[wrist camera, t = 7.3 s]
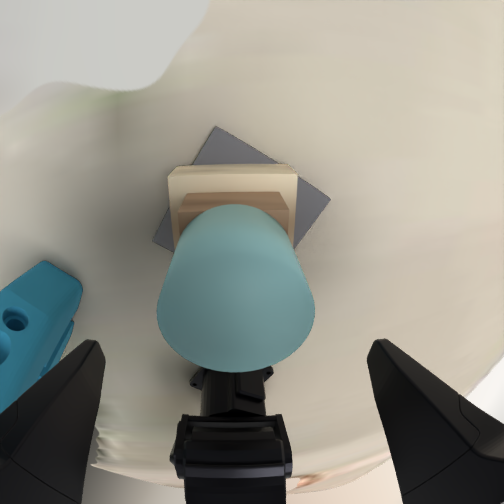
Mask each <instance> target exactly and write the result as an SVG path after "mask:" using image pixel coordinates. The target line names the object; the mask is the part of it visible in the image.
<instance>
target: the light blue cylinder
mask: <svg viewBox="0 0 504 504" xmlns="http://www.w3.org/2000/svg"><path fill="white" fill-rule="evenodd" d="M314 317H315V306H314V300H313V297H312V294H311V291H310V288H309V286H308V283H307V281H306V278H305V276H304V274H303V271H302V269H301V266H300V264H299V261H298V259H297V256H296V254H295V252H294V249H293V247H292V244H291V242H290V240H289V237H288V235H287V233H286V231H285V230H284V228H283V227H282V226H281V224H280V223H279V222H278V221H277V220H276V219H274V218H273V217H272V216H271V215H269V214H268V213H266V212H264V211H262V210H260V209H258V208H255V207H251V206H248V205H241V204H228V205H221V206H217V207H214V208H211V209H209V210H206V211H205V212H203V213H201V214H199V215H198V216H197V217H195V218H194V219H193V220H192V221H191V222H190V223H189V224H188V225H187V226H186V228H185V229H184V230H183V232H182V234H181V236H180V238H179V241H178V244H177V247H176V249H175V252H174V255H173V258H172V261H171V264H170V266H169V269H168V272H167V275H166V278H165V281H164V284H163V287H162V290H161V293H160V296H159V300H158V304H157V320H158V325H159V328H160V330H161V333H162V335H163V336H164V338H165V340H166V341H167V342H168V344H169V345H170V346H171V347H172V348H173V349H174V350H175V351H176V352H177V353H178V354H180V355H181V356H182V357H184V358H185V359H187V360H188V361H190V362H192V363H194V364H196V365H199V366H202V367H204V368H208V369H212V370H216V371H222V372H247V371H254V370H259V369H262V368H266V367H268V366H271V365H274V364H276V363H278V362H280V361H282V360H283V359H285V358H286V357H288V356H290V355H291V354H292V353H293V352H295V351H296V350H297V349H298V348H299V347H300V346H301V345H302V343H303V342H304V341H305V339H306V338H307V336H308V334H309V333H310V331H311V328H312V325H313V322H314Z"/></svg>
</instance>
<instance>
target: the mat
mask: <svg viewBox="0 0 504 504" xmlns="http://www.w3.org/2000/svg"><path fill="white" fill-rule="evenodd" d="M215 164H279V163H277V162H275V161H274V160H272V159H271V158H269V157H268V156H266V155H264V154H263V153H261V152H259V151H258V150H256V149H255V148H253V147H251V146H250V145H248V144H246V143H245V142H243V141H241V140H240V139H238V138H236V137H234V136H233V135H231V134H229V133H228V132H226V131H224V130H222V129H221V128H219V127H217V126H216V127H215V128H214V130H213V132H212V133H211V135H210V136H209V138H208V140H207V141H206V143H205V145H204V146H203V148H202V150H201V151H200V153H199V155H198V156H197V158H196V160H195V162H194V163H193V165H215ZM330 200H331V199H330V198H329V197H328V196H326V195H325V194H323V193H322V192H321V191H319V190H318V189H316V188H315V187H313V186H312V185H310V184H309V183H308V182H306V181H305V180H303V179H302V178H300V177H299V176H298V180H297V197H296V212H295V227H294V240H293V249H294V248H295V247H296V246H297V244H298V243H299V242H300V240H301V239H302V238H303V236H304V235H305V234H306V232H307V231H308V230H309V228H310V227H311V226H312V224H313V223H314V222H315V220H316V219H317V218H318V216H319V215H320V214H321V212H322V211H323V209H324V208H325V207H326V205H327V204H328V203H329V201H330ZM152 241H153V242H155V243H157V244H158V245H160V246H162V247H164V248H166V249H168V250H170V251H172V252H175V248H174V240H173V231H172V222H171V212H170V207H169V209H168V211H167V213H166V215H165V216H164V218H163V220H162V222H161V224H160V226H159V228H158V230H157V232H156V234H155V236H154V238H153V240H152Z"/></svg>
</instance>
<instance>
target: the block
mask: <svg viewBox="0 0 504 504" xmlns="http://www.w3.org/2000/svg"><path fill="white" fill-rule="evenodd" d="M82 292H83V289H82V285H81V284H80V282H79V281H78V280H77V279H75V278H73V277H72V276H70V275H68V274H67V273H65V272H63V271H62V270H60V269H59V268H57V267H55V266H54V265H52V264H51V263H49V262H47V261H42V262H40V263H39V264H37V265H36V266H34V267H33V268H31V269H30V270H28V271H27V272H26V273H24V274H23V275H21V276H20V277H19V278H17V279H16V280H14V281H13V282H12V283H10V284H9V285H8V286H6V287H5V288H4V289H2V290H1V291H0V413H2V412H3V411H4V410H5V409H6V408H7V407H8V406H10V405H11V404H12V403H13V402H14V401H15V400H17V399H18V398H19V397H20V396H21V395H22V394H23V393H24V392H25V391H26V390H28V389H29V388H30V387H31V386H32V385H33V384H34V383H35V382H37V381H38V380H39V379H40V378H41V377H42V376H43V375H45V374H46V373H47V372H48V371H49V370H50V369H52V368H53V367H54V366H55V365H56V364H57V363H59V360H60V358H61V356H62V353H63V351H64V349H65V347H66V345H67V342H68V340H69V338H70V336H71V334H72V329H73V325H74V322H73V321H71V319H72V317H73V316H74V314H75V312H76V311H77V309H78V306H79V302H80V299H81V295H82Z"/></svg>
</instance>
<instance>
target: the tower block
mask: <svg viewBox="0 0 504 504" xmlns="http://www.w3.org/2000/svg"><path fill="white" fill-rule="evenodd" d="M228 204H241V205H248V206H251V207H255V208H258V209H260V210H262V211H264V212H266V213H268V214H269V215H271V216H272V217H273V218H274V219H276V220H277V221H278V222H279V223H280V224H281V226H282V227H283V228H284V230H285V231H286V233H287V235H288V224H289V208H288V207H287V205H286V203H285V201H284V199H283V198H282V196H281V194H280V192H212V193H187V194H186V196H185V198H184V200H183V202H182V204H181V206H180V208H179V210H178V223H179V233H180V236H181V234H182V232H183V230H184V229H185V228H186V226H187V225H188V224H189V223H190V222H191V221H192V220H193V219H194V218H195V217H197V216H198V215H199V214H201V213H203V212H205V211H206V210H209V209H211V208H214V207H217V206H221V205H228Z"/></svg>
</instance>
